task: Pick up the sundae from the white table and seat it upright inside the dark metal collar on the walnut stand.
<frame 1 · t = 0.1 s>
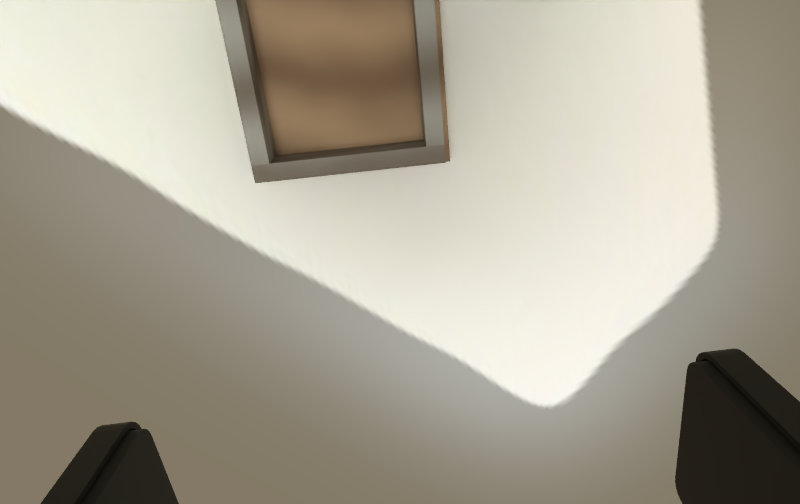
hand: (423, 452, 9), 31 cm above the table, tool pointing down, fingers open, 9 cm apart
stand: (340, 68, 36), on the table
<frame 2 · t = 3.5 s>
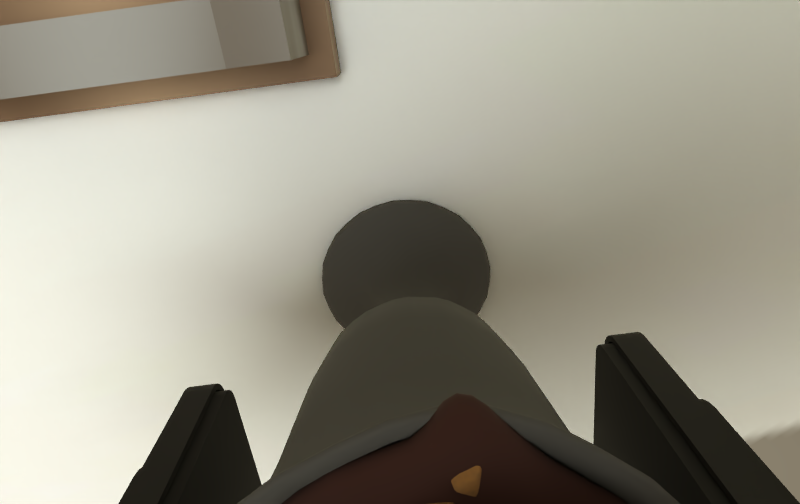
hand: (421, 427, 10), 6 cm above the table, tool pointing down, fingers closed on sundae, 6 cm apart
sundae: (407, 277, 16), on the table, touching gripper
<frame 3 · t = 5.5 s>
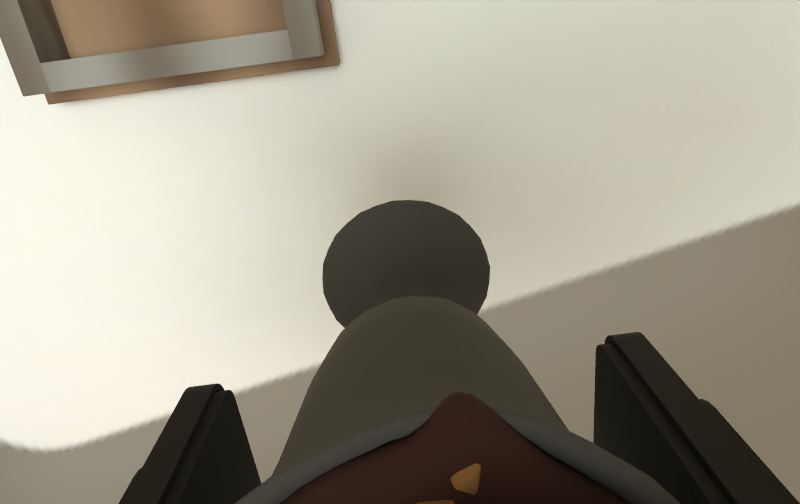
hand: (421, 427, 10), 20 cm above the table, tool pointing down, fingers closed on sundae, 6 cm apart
sundae: (407, 277, 16), point 14 cm above the table, touching gripper
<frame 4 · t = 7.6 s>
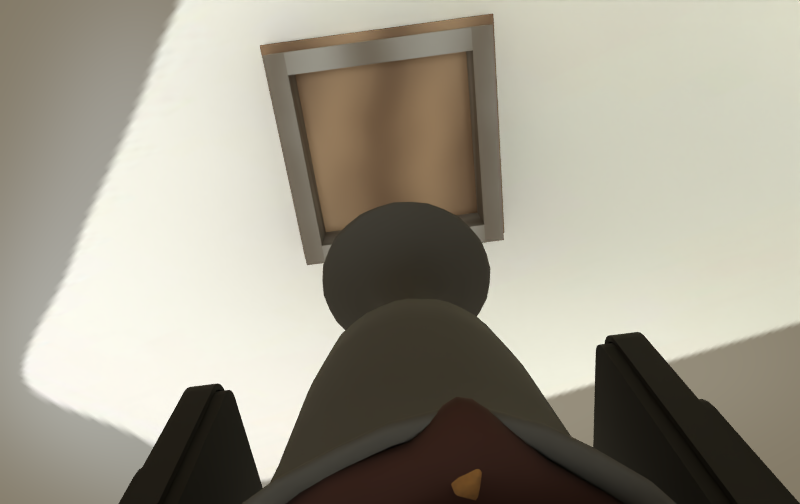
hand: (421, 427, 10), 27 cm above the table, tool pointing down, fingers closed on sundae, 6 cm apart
sundae: (407, 278, 16), point 21 cm above the table, touching gripper
stand: (391, 142, 35), on the table
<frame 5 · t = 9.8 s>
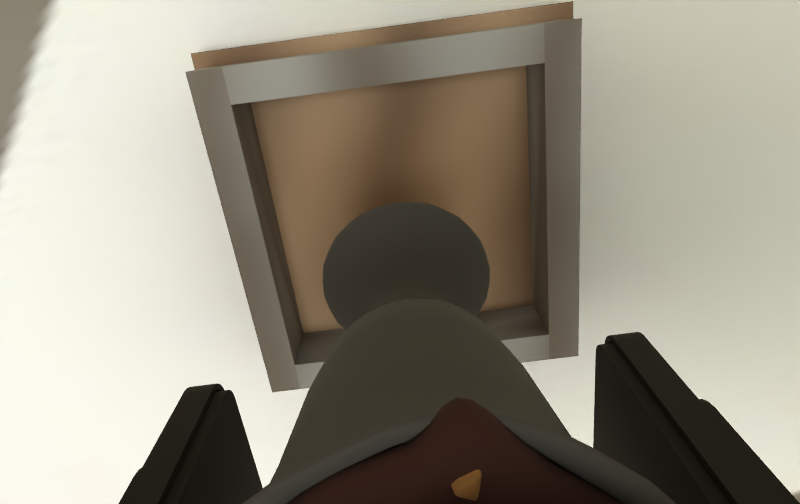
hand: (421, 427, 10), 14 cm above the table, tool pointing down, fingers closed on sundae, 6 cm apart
sundae: (407, 278, 16), point 8 cm above the table, touching gripper
stand: (402, 201, 23), on the table
when the fingers open (9 cm above the table, at t = 11.5 s): sundae drops 1 cm, resting on stand.
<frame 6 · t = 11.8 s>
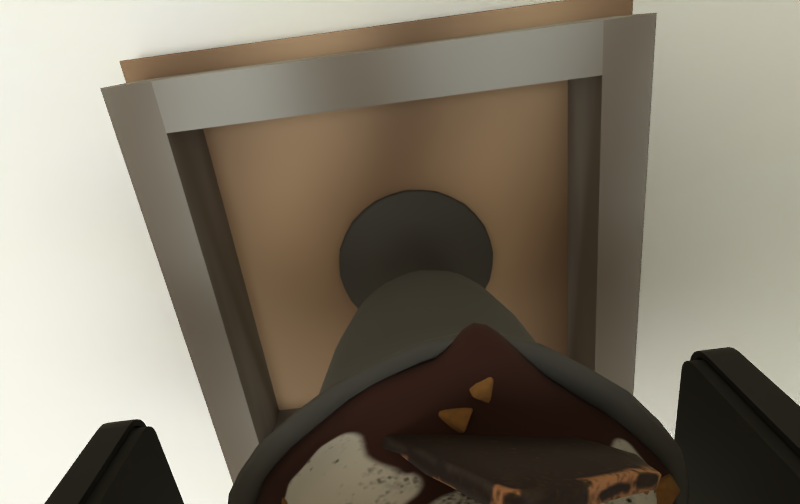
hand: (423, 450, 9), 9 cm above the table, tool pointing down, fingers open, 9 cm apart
sundae: (416, 261, 17), point 1 cm above the table, touching stand
stand: (403, 247, 18), on the table
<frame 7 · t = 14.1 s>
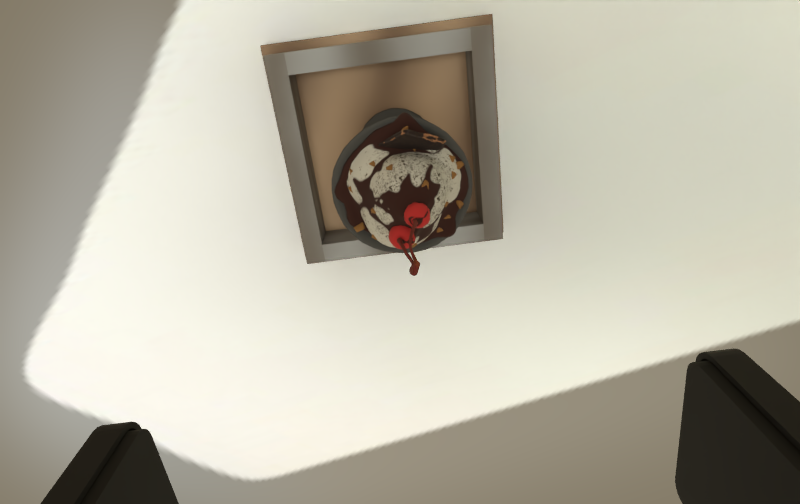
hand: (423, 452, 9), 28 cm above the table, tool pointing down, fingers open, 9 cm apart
sundae: (397, 146, 34), point 1 cm above the table, touching stand
stand: (390, 142, 35), on the table
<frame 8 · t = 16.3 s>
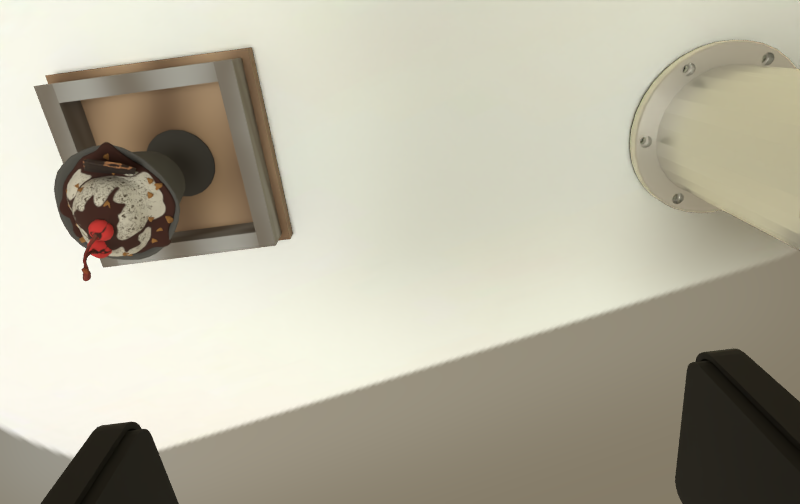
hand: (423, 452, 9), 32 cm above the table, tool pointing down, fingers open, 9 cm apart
sundae: (182, 163, 38), point 1 cm above the table, touching stand
stand: (181, 159, 39), on the table
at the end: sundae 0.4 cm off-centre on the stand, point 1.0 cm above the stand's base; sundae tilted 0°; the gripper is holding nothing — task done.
